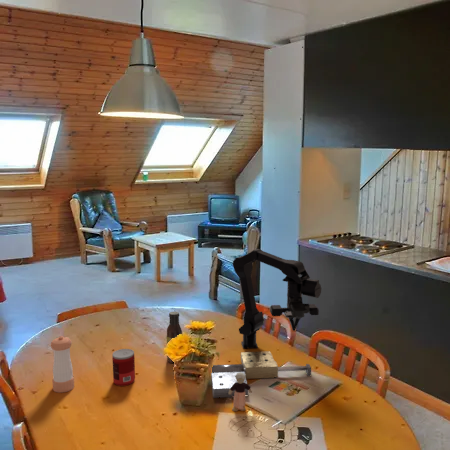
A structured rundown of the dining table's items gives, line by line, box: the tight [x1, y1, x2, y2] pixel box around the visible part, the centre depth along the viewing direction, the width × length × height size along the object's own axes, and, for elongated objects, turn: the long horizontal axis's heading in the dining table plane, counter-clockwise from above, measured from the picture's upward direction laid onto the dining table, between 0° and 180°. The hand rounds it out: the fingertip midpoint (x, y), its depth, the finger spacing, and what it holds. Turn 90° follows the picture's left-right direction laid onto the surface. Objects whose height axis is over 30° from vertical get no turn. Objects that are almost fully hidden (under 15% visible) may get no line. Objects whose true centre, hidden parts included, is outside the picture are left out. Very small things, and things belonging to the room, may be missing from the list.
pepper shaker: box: [50, 335, 75, 393], centre depth 167 cm, size 7×7×19 cm
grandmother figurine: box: [228, 372, 253, 412], centre depth 153 cm, size 8×4×13 cm, turn 106°
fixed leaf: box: [210, 363, 312, 399], centre depth 170 cm, size 16×37×5 cm, turn 95°
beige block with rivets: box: [240, 350, 279, 380], centre depth 182 cm, size 16×12×4 cm
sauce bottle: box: [166, 311, 183, 364], centre depth 188 cm, size 7×6×20 cm
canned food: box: [111, 348, 136, 387], centre depth 172 cm, size 8×8×11 cm
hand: (293, 330), depth 190 cm, fingers closed
